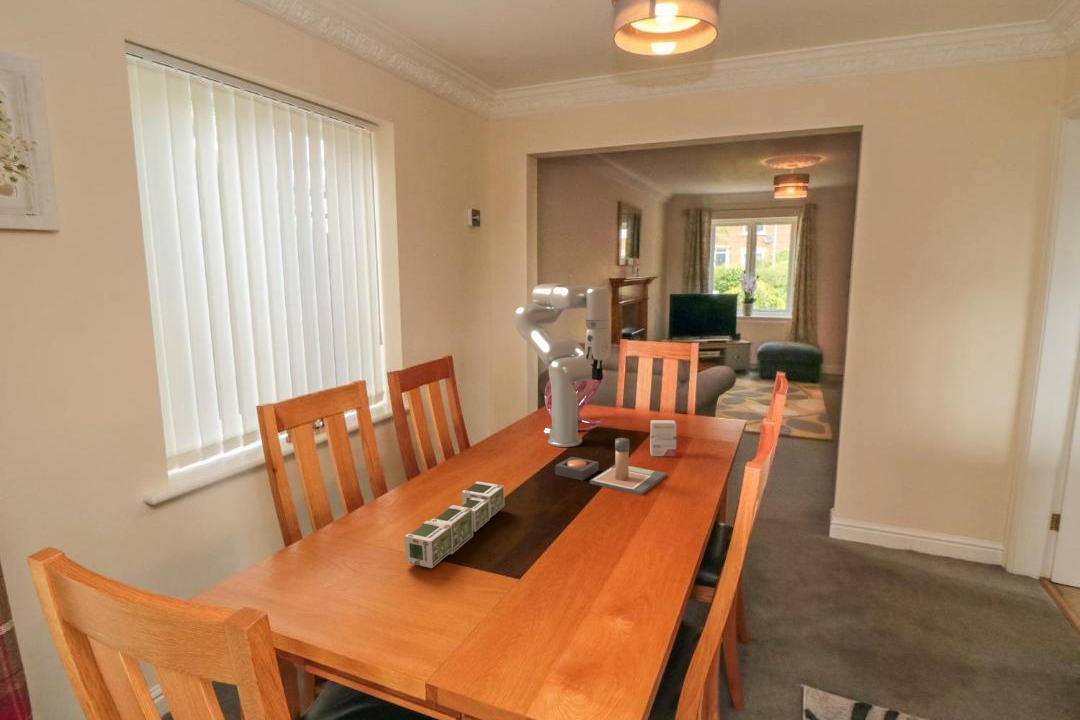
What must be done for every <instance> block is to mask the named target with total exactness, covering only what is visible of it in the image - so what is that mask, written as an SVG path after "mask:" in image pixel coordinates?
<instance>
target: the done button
mask: <svg viewBox="0 0 1080 720" xmlns="http://www.w3.org/2000/svg"><path fill="white" fill-rule="evenodd" d="M586 465H587V463H586V461H583V460H570V461H568V466H570V467H575V468H580V469H581V468H583V467H585V466H586Z"/></svg>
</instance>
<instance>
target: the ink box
mask: <svg viewBox="0 0 1080 720" xmlns="http://www.w3.org/2000/svg"><path fill="white" fill-rule="evenodd" d="M677 427H678V425H677V421H675V420H673V419H672V420H669V419H668V420H667V419H666V420H664V419H663V420H661V419H659V420H657V419H653V420H652V419H651V420H650V429H649V430H650V436H649V440H650V441H649V452H650V457H677V438H678V437H677Z"/></svg>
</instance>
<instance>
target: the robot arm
mask: <svg viewBox="0 0 1080 720" xmlns="http://www.w3.org/2000/svg"><path fill="white" fill-rule="evenodd" d="M531 299H532V301H533V302H534V303H527V304H523V305H520V306H519V307H517V308H516V309H515V312H514V314H513V319H514V325H515V328H516V330H517V332H518V333H519V335H520V336H521V337H522V338H523V340H525V341H526V342H527V343H528V344H529V345H530V346H531V348H532V349H533V350H534V352H535V354H537V356H538V357H539V359H540V360H541V361H542V362H543V363H544V364H545V365H547V366H548V377H549V380H550V383H551V384H550V385H551V393H552V396H551V398H552V405H551V407H552V417H551V428H550V427H546V428H544V431H543V434H544V435H547V436H548V435H549V437H548V438H547V443H548V444H549V445H550V446H553V447H559V448H570V447H571V448H572V447H578V446H579V445H581V444H582V443H583V438H582V437H580V436H578V435H579V433H578V432H579V431H578V428H579V426H578V425H579V424H578V423H579V421H578V405H579V401H578V396H577V393H576V391H575V388H574V385H573V386H572V383H575V384H576V383H579V382H583V381H588V380H590V379H593V380H602V379H603V370H604V369H603V368H604V363H605V361H607V359H608V358H610V357H611V356H612V345H611V344H612V343H611V342H612V341H611V333H610V291H609V288H608V287H604V286H600V287H599V286H595V285H573V286H572V285H571V286H567V285H566V284H564V283H561V282H560V283H559V282H558V283H555V282H554V283H553V282H552V283H541V284H537V285H536V286H535V287H534V288H533V289H532V292H531ZM576 309H585V330H586V332H585V333H586V334H585V343H584V348H583V346H582V345H580V343H579V342H577V341H576V339H573V338H560V339H559V338H558V339H557V338H554V337H553V336H552V335H551V334H550V332H549V331H548V330H546V329H545V328H543V327H542V326H544V325H545V326H546V325H553V324H555V323H557V321H558V320H559V319H560V318H561V315H562V314H563V312H564V311H565V310H576ZM603 380H604V379H603Z"/></svg>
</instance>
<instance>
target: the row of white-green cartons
mask: <svg viewBox="0 0 1080 720" xmlns="http://www.w3.org/2000/svg"><path fill="white" fill-rule="evenodd" d="M461 501H462V502H461V503H462V504H461V505H455V504H452V505H450V506H449V507H448V508H447V509H446V510H445V511H444V512H441V514H439V515H438V516H436V517H435V518H432V519H430V520H426V521H424V522H422V524H421V525H420V526H419V527H417V528H416V529H414V530H413V531H412V532H410V533H407V534H405V535H404V548H405V550H404V551H405V563H408V564H412V565H417V566H421V567H426V568H429V569H433V568H434V567H435V566H437V564H439V563H440V562H441V561H442V560H444V559H445V558H446V557H447V556H449V555H452V554H454V553H455V552H456V551H457V550H459V549H460V548H461V547H462V546H464V544H466V543H467V542H468V541H469V540H471V539H472V538H473V537H474V533H475V532H477V531H478V530H480V528H482V527H483V526H484V525H485V524H486V523H487V522H489V521H490V519H491V518H492V517H493V516H495V515H496V514H497V513H498V512H499V511H500V510H501V509H503V508H504V507H505V485H502V484H498V483H497V484H496V483H489V482H483V481H475V482H474V484H472V485H471V486H470V487H468V488H467V489H466V490H462V492H461Z"/></svg>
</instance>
